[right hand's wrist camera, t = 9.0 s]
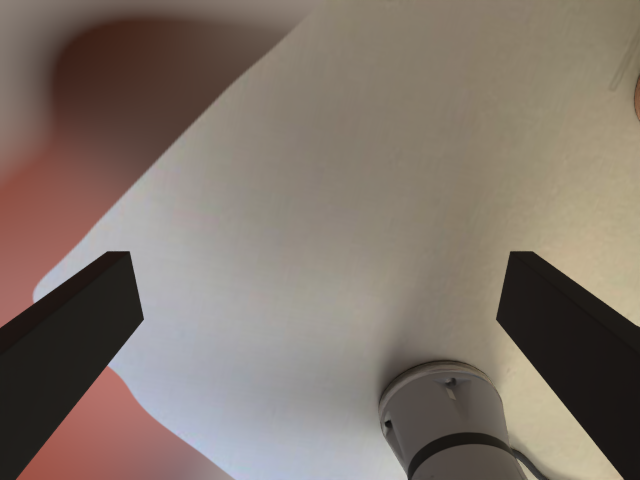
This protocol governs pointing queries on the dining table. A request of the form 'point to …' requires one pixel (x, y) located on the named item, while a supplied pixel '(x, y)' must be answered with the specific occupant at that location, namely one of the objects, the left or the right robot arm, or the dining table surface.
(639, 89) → the jar
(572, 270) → the dining table surface
